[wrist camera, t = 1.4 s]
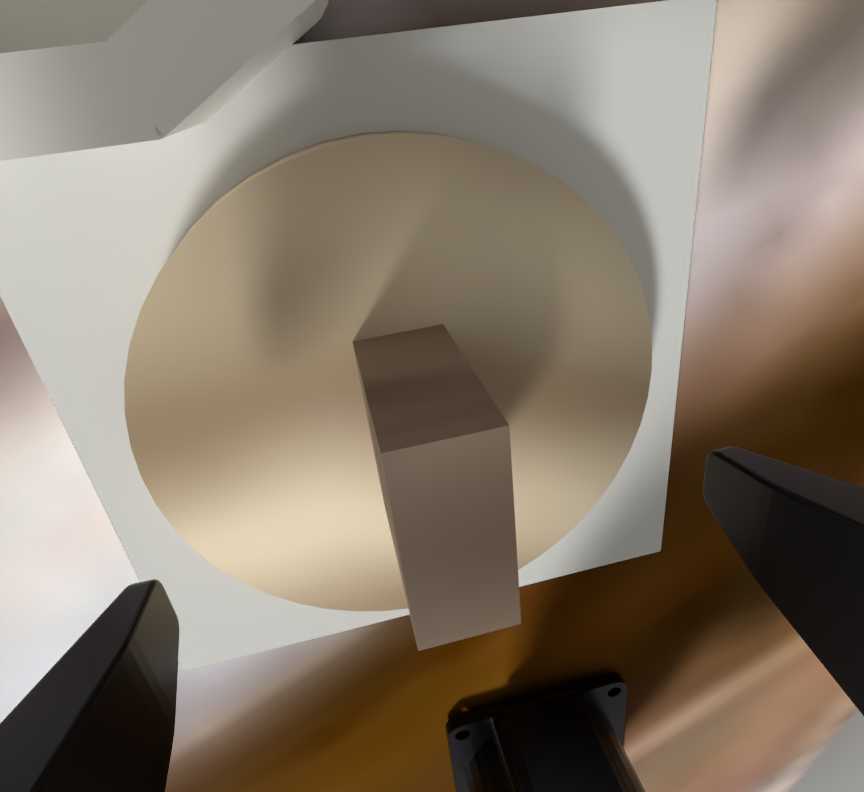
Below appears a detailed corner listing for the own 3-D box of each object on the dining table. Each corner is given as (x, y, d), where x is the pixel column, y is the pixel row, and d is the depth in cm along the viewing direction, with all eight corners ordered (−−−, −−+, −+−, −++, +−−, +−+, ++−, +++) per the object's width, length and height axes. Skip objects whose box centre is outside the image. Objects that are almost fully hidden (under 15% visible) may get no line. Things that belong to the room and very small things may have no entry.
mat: (650, 537, 18) (660, 551, 18) (187, 652, 16) (183, 671, 16) (698, -2, 11) (717, -7, 11) (-79, 91, 10) (-100, 90, 9)
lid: (616, 522, 17) (736, 681, 12) (225, 619, 15) (199, 840, 11) (637, 93, 11) (863, 96, 7) (42, 178, 10) (-159, 252, 6)
